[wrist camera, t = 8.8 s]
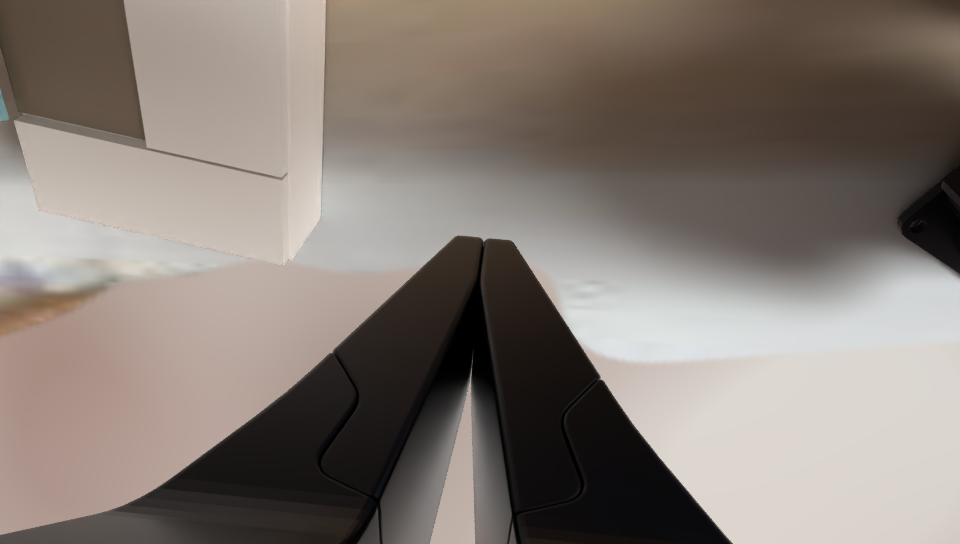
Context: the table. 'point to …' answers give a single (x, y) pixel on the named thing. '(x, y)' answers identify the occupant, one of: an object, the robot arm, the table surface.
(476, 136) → the table surface
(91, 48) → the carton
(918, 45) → the table surface
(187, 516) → the robot arm
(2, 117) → the flap
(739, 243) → the table surface
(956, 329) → the table surface
